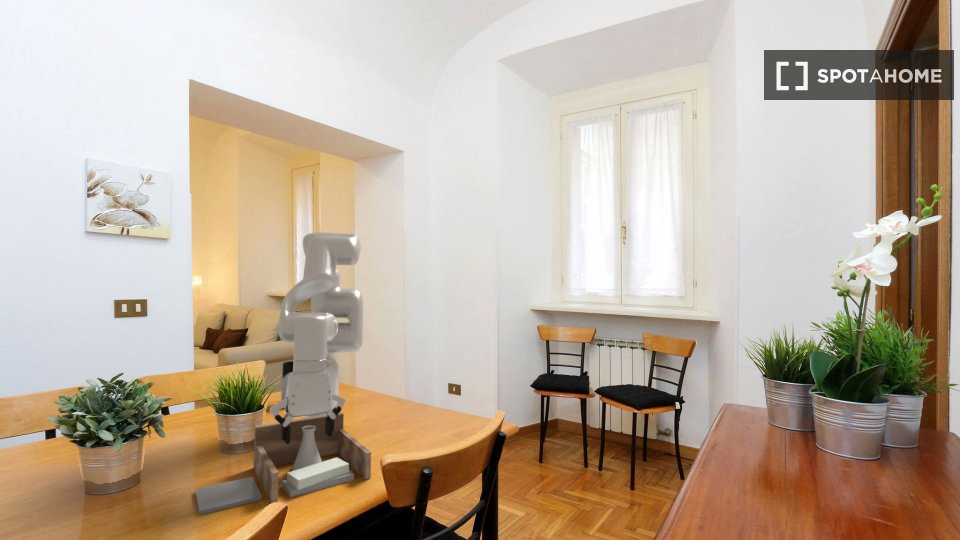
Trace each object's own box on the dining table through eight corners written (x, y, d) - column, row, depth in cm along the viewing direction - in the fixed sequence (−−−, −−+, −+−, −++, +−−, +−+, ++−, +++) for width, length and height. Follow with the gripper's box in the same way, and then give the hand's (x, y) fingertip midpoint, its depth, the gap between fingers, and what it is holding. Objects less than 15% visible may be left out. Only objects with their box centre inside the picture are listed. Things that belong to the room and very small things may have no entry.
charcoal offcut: (282, 490, 101) (282, 480, 101) (343, 473, 110) (343, 465, 110) (290, 500, 96) (290, 490, 96) (353, 482, 105) (354, 473, 105)
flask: (317, 460, 116) (318, 421, 116) (328, 470, 110) (329, 428, 110) (287, 468, 111) (288, 426, 111) (297, 478, 105) (298, 434, 106)
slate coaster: (195, 492, 98) (195, 489, 98) (252, 480, 104) (252, 476, 104) (199, 515, 89) (199, 510, 89) (261, 499, 95) (261, 496, 95)
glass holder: (280, 409, 159) (281, 365, 160) (279, 399, 172) (280, 359, 172) (307, 406, 163) (307, 364, 163) (304, 397, 176) (305, 357, 176)
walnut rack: (253, 467, 111) (254, 426, 111) (340, 449, 123) (341, 412, 123) (271, 503, 94) (272, 453, 94) (370, 478, 106) (371, 434, 106)
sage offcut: (286, 481, 101) (287, 472, 101) (336, 465, 110) (336, 457, 110) (298, 489, 97) (298, 480, 97) (348, 472, 106) (349, 463, 106)
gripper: (340, 361, 119) (338, 428, 118) (268, 367, 109) (265, 440, 108) (350, 365, 113) (349, 436, 112) (274, 372, 103) (272, 450, 102)
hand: (308, 438), depth 110 cm, fingers open, 9 cm apart
